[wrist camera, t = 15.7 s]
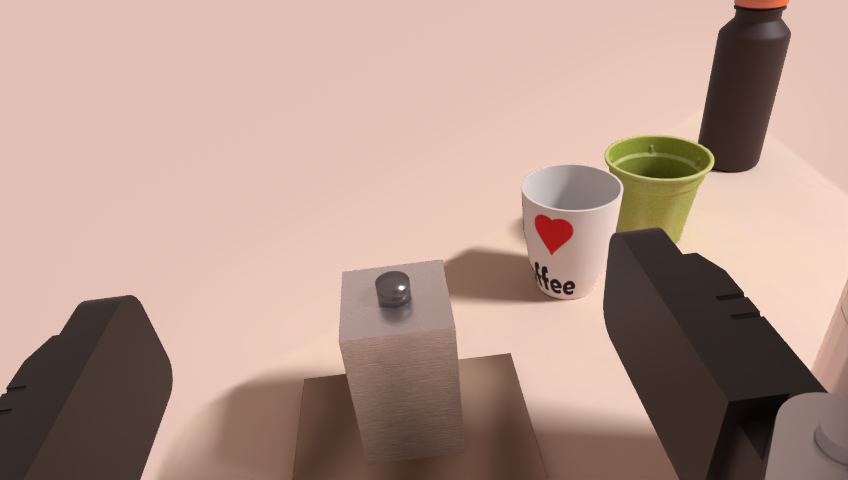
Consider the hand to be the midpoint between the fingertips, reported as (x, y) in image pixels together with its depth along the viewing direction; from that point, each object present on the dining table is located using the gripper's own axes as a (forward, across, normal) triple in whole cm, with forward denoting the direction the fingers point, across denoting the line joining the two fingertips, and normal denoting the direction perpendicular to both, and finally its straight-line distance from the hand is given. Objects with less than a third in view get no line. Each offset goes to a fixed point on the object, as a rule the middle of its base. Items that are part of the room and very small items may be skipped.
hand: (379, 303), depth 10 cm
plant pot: (+39, -24, +28) cm, 53 cm away
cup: (+33, -14, +28) cm, 45 cm away
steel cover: (+18, +1, +26) cm, 32 cm away
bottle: (+52, -39, +29) cm, 71 cm away
